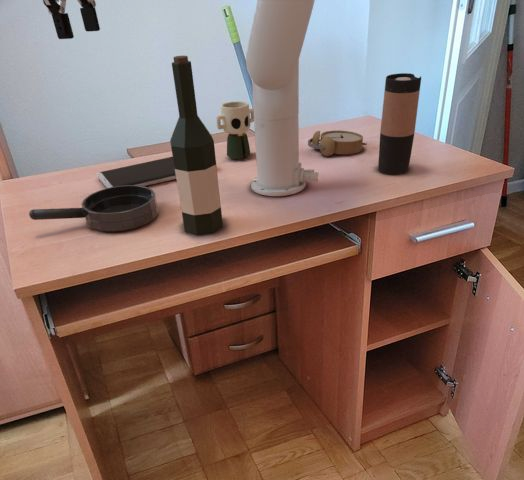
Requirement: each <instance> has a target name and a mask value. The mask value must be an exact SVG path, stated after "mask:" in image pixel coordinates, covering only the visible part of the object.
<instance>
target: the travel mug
mask: <svg viewBox="0 0 524 480" xmlns="http://www.w3.org/2000/svg"><path fill="white" fill-rule="evenodd" d="M421 83H422V76H421V75H420V76H419V77H417V76H415V74H414V73H411V72H410V73H407V72H403V73H393V74H388V75H386V77H385V83H384V92H383V101H382V102H383V103H382V112H381V120H380V121H381V123H380V131H379V132H380V133H379V147H378V162H377V164H378V166H377V170H378V172H379V173H381V174H384V175H388V176H398V175H404V174H406V173H408V171H409V168H410V161H411V157H412V150H413V144H414V138H415V132H416V124H417V117H418V109H419V102H420V101H419V99H420V92H421Z"/></svg>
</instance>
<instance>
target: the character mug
mask: <svg viewBox="0 0 524 480" xmlns="http://www.w3.org/2000/svg"><path fill="white" fill-rule="evenodd" d="M220 113H221V114H219V115H217V116H216V128H217V130H222V131H223V132H224V133H225V134H228V135H227V137H226V138H227V139H226V156H227V157H229V158H230V159H232V160H233V159H234V160H241V159H244V157H245V158H249V157H250V156H251V147H250V143H249V137H248V135H247V133H248V132H249V130H250V128H251V123H254V108H250V105H249V102H247V101H241V100H240V101H239V100H237V101H227V102H224V103H222V104H220Z"/></svg>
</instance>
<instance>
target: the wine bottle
mask: <svg viewBox="0 0 524 480" xmlns="http://www.w3.org/2000/svg"><path fill="white" fill-rule="evenodd" d="M172 58H173V62H171V68H172V76H173V82H174V89H175V96H176V102H177V109H178V119H177V121H176V124H175V127H174V130H173V132H172V135H171V137H170V148H171V149H170V150H171V155H172V157H173V161H174V167H175V174H176V179H175V180H176V187H177V191H178V197H179V198H178V199H179V204H180V210H181V216H182V222H183V230H184V232H185V233H188V234H190V235H193V236H194V235H195V236H202V235H203V236H204V235H211V234H214V233H216V232H217V231H219V230H221V229H222V228H224V224H223V223H224V222H223V214H222V213H223V212H222V204H221V195H220V186H219V177H218V167H217V159H216V158H217V157H216V149H215V140H214V138H213V136H212V134H211V132H210V131H209V130H208V128H207V127H206V125H205V123H204V122H203V121H202V119H201V118H200V116H199V115H198V107H197V100H196V91H195V84H194V75H193V68H192V61H191V60H189V56H188V55H176V56H173V57H172Z"/></svg>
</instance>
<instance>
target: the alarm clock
mask: <svg viewBox="0 0 524 480" xmlns="http://www.w3.org/2000/svg"><path fill="white" fill-rule="evenodd" d="M363 140H364V136H363V135H362V134H360V133H358V132H354V131H349V130H327V131H323V132H322V133H321V130H317V131H315V132H314V133H313V135H312V137H311V138H310V139H308V140H307V146H308V147H310V148H312V149H314V150H317V151H320V153H321V154H322V155H323V156H324V157H330V156H332V155H334V154H337V155H353V154H357V153H360V152H361V151H362V150H363V149H362V148H363V146H367V145H368V144H367V143H366V142H364V141H363Z"/></svg>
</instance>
